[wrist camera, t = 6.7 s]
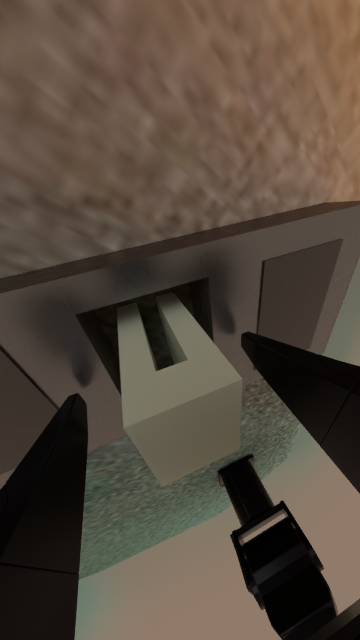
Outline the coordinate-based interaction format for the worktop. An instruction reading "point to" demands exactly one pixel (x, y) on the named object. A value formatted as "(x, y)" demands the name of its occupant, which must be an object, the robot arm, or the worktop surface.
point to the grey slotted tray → (155, 275)
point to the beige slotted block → (177, 393)
